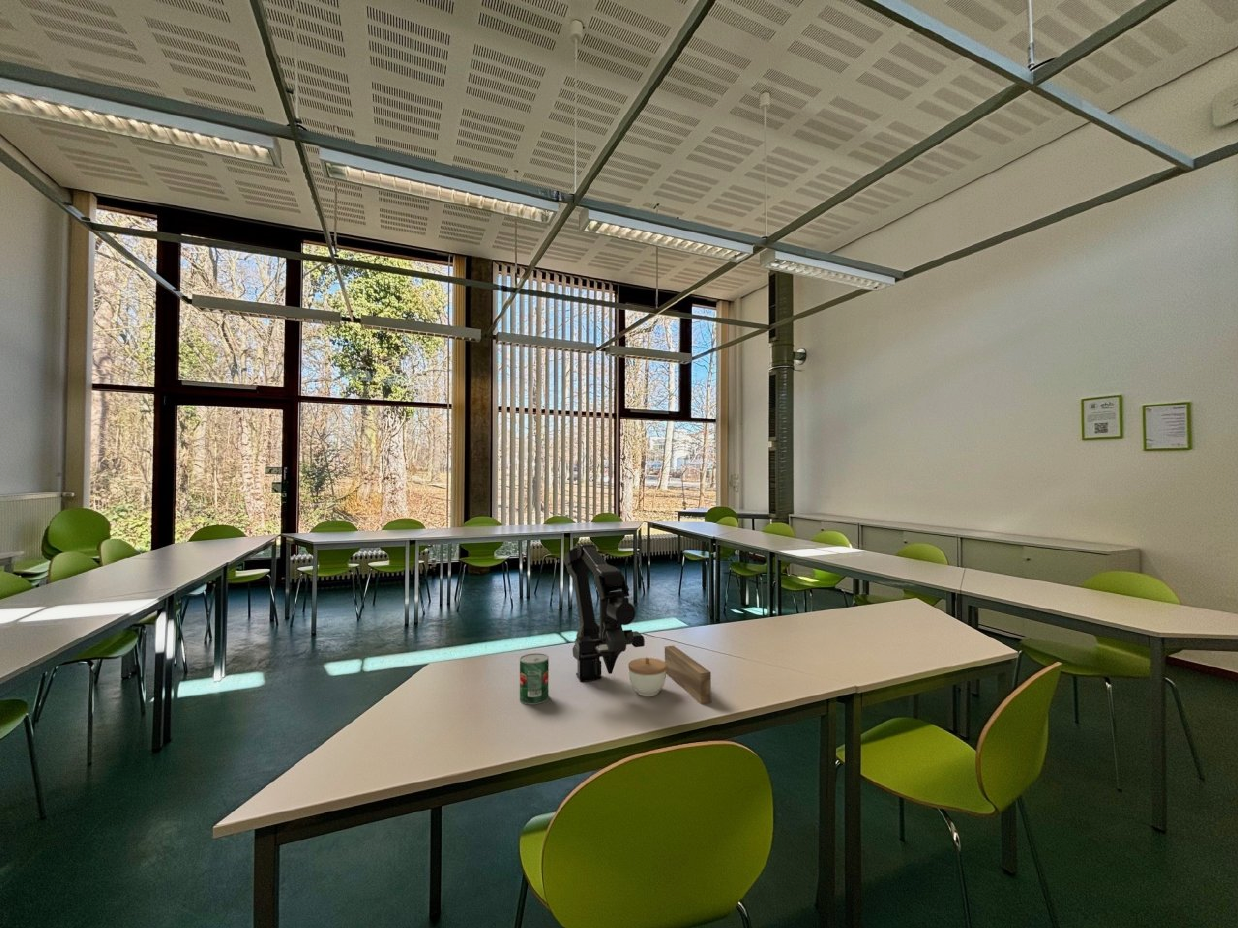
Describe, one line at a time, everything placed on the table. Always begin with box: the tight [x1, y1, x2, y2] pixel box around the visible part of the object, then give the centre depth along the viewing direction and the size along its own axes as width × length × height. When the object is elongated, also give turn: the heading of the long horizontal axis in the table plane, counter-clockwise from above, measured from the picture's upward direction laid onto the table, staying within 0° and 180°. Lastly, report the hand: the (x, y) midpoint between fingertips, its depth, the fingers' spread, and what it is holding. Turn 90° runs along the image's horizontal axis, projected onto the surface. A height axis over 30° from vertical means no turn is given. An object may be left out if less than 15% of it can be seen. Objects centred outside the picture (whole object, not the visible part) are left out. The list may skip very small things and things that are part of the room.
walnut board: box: [664, 645, 712, 705], centre depth 145 cm, size 3×24×8 cm, turn 18°
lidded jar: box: [627, 657, 667, 697], centre depth 142 cm, size 11×11×9 cm
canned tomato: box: [519, 652, 550, 705], centre depth 138 cm, size 8×8×11 cm
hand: (610, 673), depth 138 cm, fingers closed
